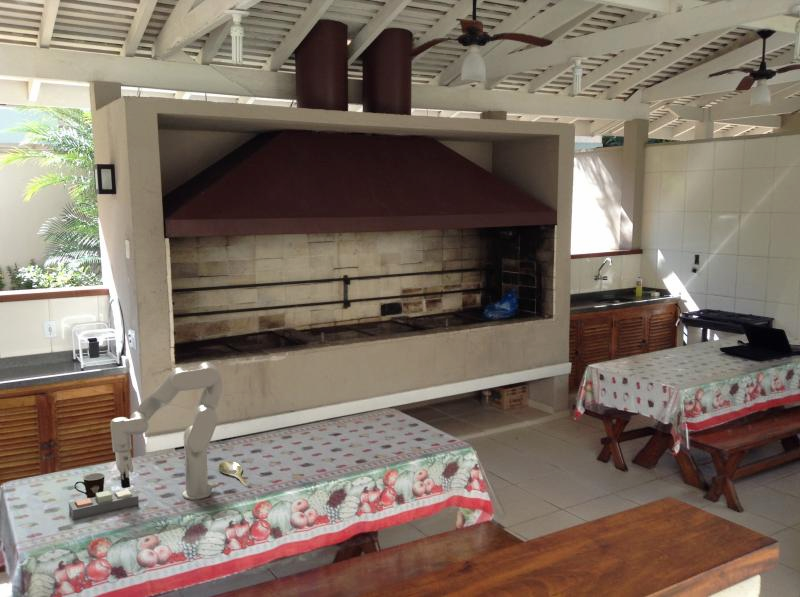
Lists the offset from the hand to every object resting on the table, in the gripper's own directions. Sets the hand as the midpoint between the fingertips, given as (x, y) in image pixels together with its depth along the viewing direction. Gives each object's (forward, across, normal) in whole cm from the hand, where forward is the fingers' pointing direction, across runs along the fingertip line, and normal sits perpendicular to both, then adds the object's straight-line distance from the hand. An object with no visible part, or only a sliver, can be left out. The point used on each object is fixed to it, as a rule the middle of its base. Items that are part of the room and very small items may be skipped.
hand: (125, 487), depth 308 cm
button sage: (+5, 0, +9) cm, 10 cm away
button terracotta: (+6, 0, +17) cm, 18 cm away
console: (+8, 0, +9) cm, 12 cm away
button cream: (+7, 0, +1) cm, 7 cm away
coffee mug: (+8, +16, +11) cm, 21 cm away
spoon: (+11, +5, -52) cm, 53 cm away
